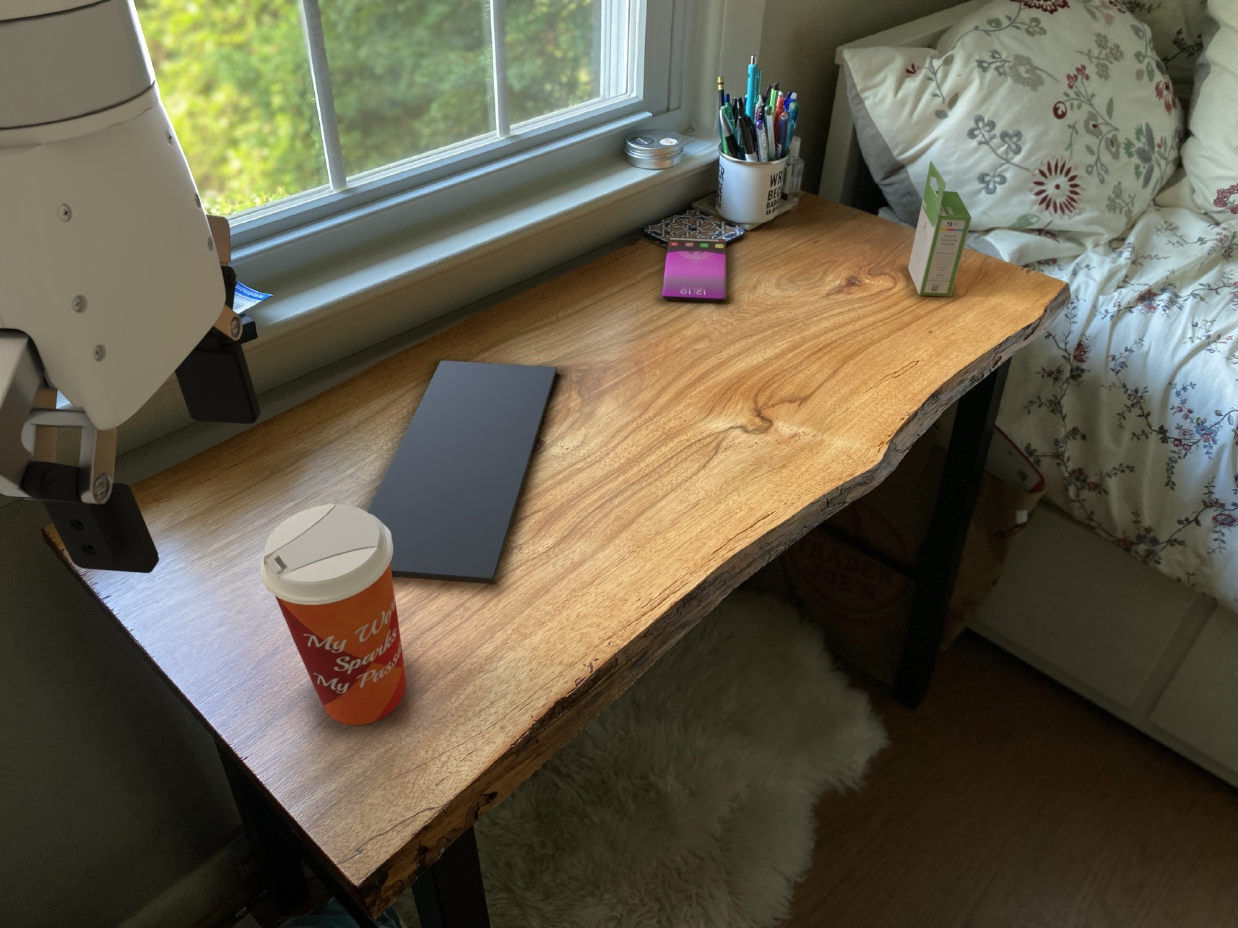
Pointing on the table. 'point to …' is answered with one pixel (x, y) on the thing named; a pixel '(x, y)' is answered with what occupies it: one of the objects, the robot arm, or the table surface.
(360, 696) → the paper cup
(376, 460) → the table surface
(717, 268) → the smartphone
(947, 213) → the ink box
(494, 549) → the mat
